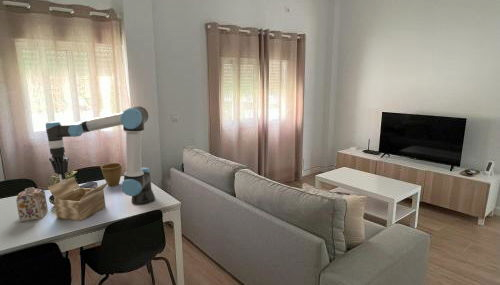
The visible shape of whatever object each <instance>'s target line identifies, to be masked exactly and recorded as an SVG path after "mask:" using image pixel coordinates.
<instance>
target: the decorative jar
mask: <svg viewBox="0 0 500 285" xmlns="http://www.w3.org/2000/svg"><path fill="white" fill-rule="evenodd" d="M45 192H46V191H44V190H42V189H40V188H35V187H33V186H32V187H28V188H27V187H26V188H25V189H24V190H23V191H21V192H19V193H18V194H17V197H16V200H15V201H16V208H17V213H18V217H19V218H18V219H19V222H24V221H25V222H26V221H33V220H42V219H43V217H44V216H45V215H46V214H47V213H48V212H49V208H48V202H47V197H46V193H45Z"/></svg>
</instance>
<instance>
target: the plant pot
mask: <svg viewBox="0 0 500 285" xmlns="http://www.w3.org/2000/svg"><path fill="white" fill-rule="evenodd" d="M122 166H123V165H122V163H120V162H119V163H118V162H111V163H107V164H104V165H101V166H100V170H101V173H102V176H103V178H104V180H105V182H106V183H107V182H109V183H108V185H107V186H108V187H110V188H113V187H117V186H119V185H120V181H121V177H122Z"/></svg>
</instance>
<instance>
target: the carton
mask: <svg viewBox="0 0 500 285" xmlns="http://www.w3.org/2000/svg"><path fill="white" fill-rule="evenodd" d="M90 190H93V189H90V188H78V189H75V190H73V191H71V192H68V193H66V194H64V195H62V196H59V197H57V198H54V199H53V202H54V208H55V216H56V218H57V219H62V220H67V221H68V220H69V221H77V222H83V221H84V220H86V219H88V218H89V217H91V216H93V215H95V214H96V213H98V212H100V211H102V210H103V209H105V208H106V207H107V206H106V200H105V191H104V189H103V190H102V191H100V192H98V193H96V194H94V195H92V196H89V197H87V198H85V199H83V200H81V201H80V199H81V198H82V197H83V196H84V195H85V193H86V192H88V191H90Z"/></svg>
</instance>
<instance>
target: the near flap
mask: <svg viewBox="0 0 500 285" xmlns="http://www.w3.org/2000/svg"><path fill="white" fill-rule="evenodd" d="M108 183H109V182H106V183H103V184H102V185H98V187H97V188H95V189H93V190H90V191H88V192H86V193H85V195H84V196H83V197H82V198H81V199H80V201H81V200H83V199H85V198H87V197H89V196H92V195H94V194H96V193H98V192H100V191H102V190H104V189H106V187H107V186H108Z"/></svg>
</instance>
